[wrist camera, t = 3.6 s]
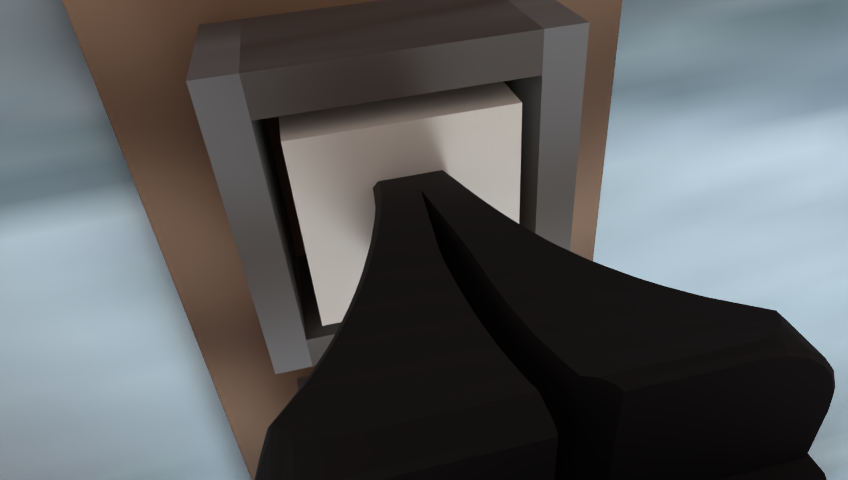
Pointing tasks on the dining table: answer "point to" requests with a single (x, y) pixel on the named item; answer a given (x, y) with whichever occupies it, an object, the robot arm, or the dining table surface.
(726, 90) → the dining table surface
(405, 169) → the cream button
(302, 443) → the robot arm
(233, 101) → the block
